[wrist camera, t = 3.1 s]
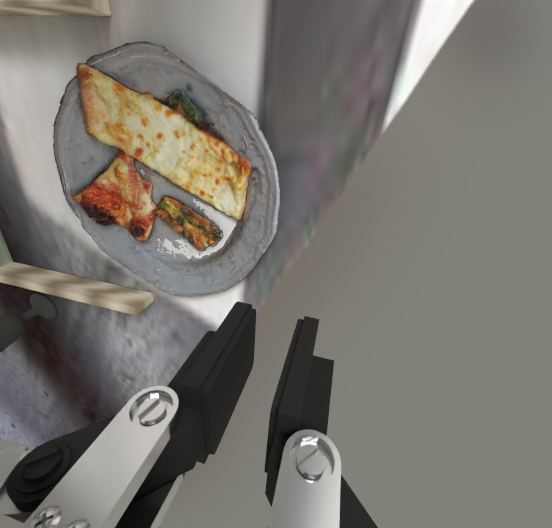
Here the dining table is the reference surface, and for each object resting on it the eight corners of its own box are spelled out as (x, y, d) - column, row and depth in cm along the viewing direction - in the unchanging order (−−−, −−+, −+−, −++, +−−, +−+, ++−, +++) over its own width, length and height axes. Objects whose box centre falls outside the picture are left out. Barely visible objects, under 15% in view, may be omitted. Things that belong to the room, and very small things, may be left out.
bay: (108, -2, 24) (72, -21, 21) (154, 300, 39) (136, 315, 35) (-100, -1, 29) (-153, -16, 26) (9, 267, 43) (-17, 278, 40)
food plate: (54, 205, 36) (26, 213, 33) (95, -9, 24) (58, -29, 21) (219, 315, 38) (207, 332, 34) (327, 162, 26) (324, 168, 23)
